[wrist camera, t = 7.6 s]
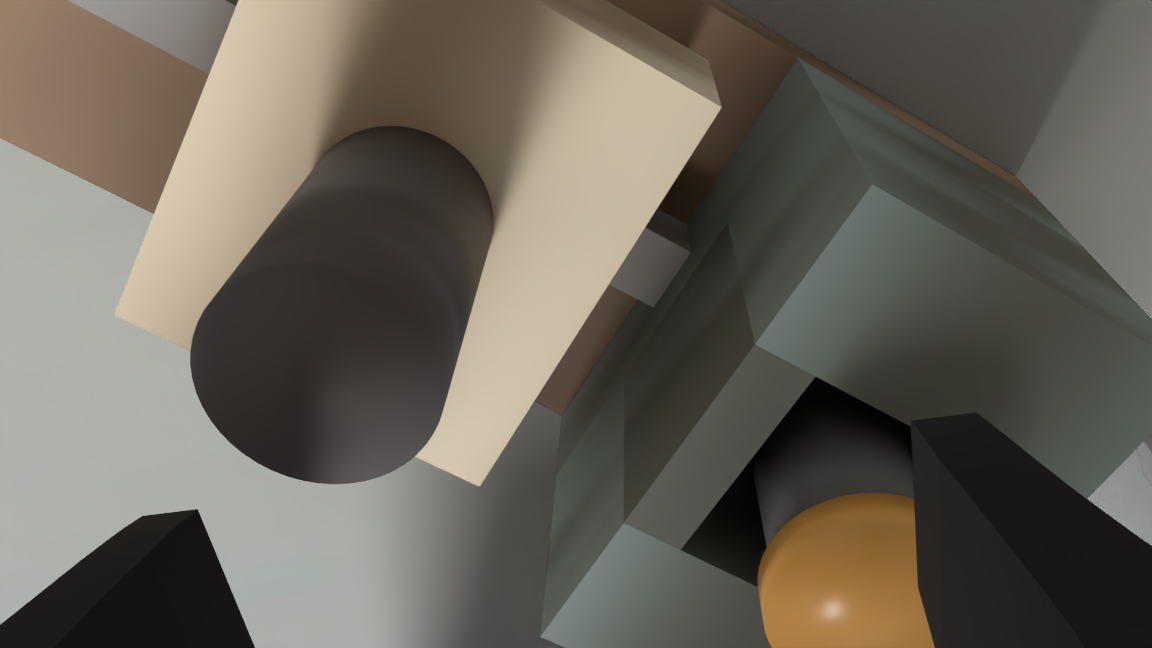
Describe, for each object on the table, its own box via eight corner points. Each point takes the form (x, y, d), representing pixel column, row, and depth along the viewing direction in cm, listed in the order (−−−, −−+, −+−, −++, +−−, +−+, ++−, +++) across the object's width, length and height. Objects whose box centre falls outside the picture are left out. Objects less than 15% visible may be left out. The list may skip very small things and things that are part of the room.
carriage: (703, 42, 17) (759, 240, 10) (503, 369, 20) (434, 704, 13) (361, -159, 16) (147, -98, 9) (202, 219, 19) (-56, 497, 12)
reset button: (941, 402, 16) (1031, 582, 12) (839, 522, 17) (895, 720, 14) (796, 324, 16) (847, 488, 12) (700, 452, 17) (721, 639, 13)
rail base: (1016, 177, 20) (1206, 376, 13) (769, 486, 23) (825, 764, 17) (-354, -642, 15) (-1085, -945, 9) (-411, -104, 18) (-967, -35, 12)
